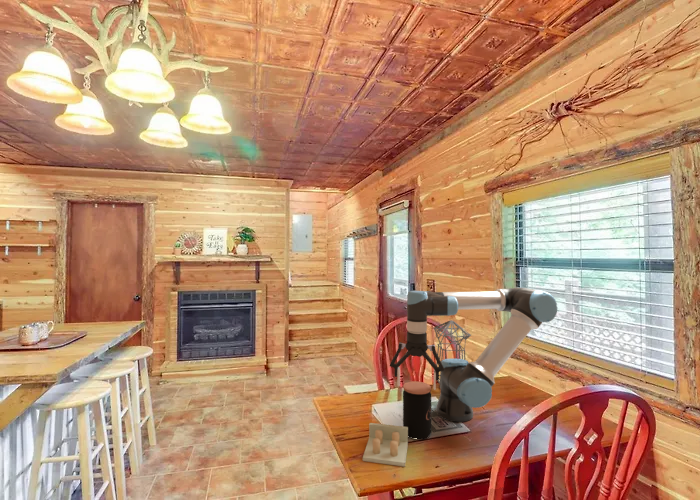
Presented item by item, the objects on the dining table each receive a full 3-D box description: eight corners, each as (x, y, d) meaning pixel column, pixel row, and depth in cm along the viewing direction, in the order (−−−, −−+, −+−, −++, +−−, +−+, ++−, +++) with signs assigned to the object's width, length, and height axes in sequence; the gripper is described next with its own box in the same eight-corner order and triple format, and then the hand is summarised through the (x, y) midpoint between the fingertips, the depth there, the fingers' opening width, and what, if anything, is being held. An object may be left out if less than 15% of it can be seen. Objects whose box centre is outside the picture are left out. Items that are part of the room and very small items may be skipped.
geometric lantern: (460, 383, 185) (461, 317, 184) (471, 396, 170) (472, 324, 169) (430, 383, 185) (431, 317, 184) (438, 396, 169) (440, 324, 168)
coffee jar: (431, 442, 129) (431, 393, 129) (402, 439, 131) (402, 390, 131) (431, 427, 139) (430, 382, 139) (403, 425, 141) (403, 380, 141)
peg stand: (407, 443, 128) (407, 426, 128) (405, 466, 114) (405, 448, 114) (369, 438, 131) (369, 422, 131) (362, 460, 117) (362, 442, 117)
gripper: (450, 331, 136) (449, 386, 136) (385, 327, 141) (385, 380, 141) (451, 335, 128) (450, 393, 129) (383, 331, 134) (382, 387, 134)
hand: (416, 386), depth 135 cm, fingers open, 13 cm apart
